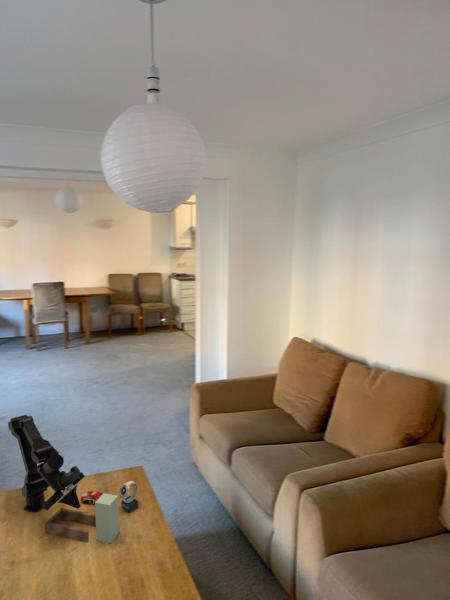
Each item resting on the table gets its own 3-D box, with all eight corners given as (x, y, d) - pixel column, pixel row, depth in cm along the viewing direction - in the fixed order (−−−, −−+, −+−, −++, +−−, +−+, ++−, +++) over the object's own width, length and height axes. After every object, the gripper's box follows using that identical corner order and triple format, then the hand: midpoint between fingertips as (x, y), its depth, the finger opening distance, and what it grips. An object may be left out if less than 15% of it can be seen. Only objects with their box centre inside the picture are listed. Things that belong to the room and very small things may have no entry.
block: (96, 540, 157) (95, 502, 155) (105, 529, 163) (103, 493, 161) (110, 543, 156) (109, 505, 154) (119, 532, 161) (118, 495, 160)
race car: (114, 500, 182) (113, 491, 182) (107, 508, 177) (107, 499, 176) (86, 496, 185) (85, 487, 185) (79, 503, 180) (78, 494, 179)
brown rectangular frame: (45, 533, 161) (44, 523, 160) (61, 517, 171) (61, 507, 170) (87, 542, 156) (86, 532, 156) (101, 525, 166) (101, 515, 165)
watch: (117, 509, 176) (116, 484, 174) (133, 500, 182) (132, 476, 180) (125, 515, 172) (125, 489, 171) (141, 506, 178) (141, 481, 177)
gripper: (49, 477, 152) (77, 511, 150) (79, 452, 170) (105, 482, 168) (31, 494, 155) (59, 527, 154) (63, 468, 173) (88, 497, 171)
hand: (79, 507), depth 162 cm, fingers closed
